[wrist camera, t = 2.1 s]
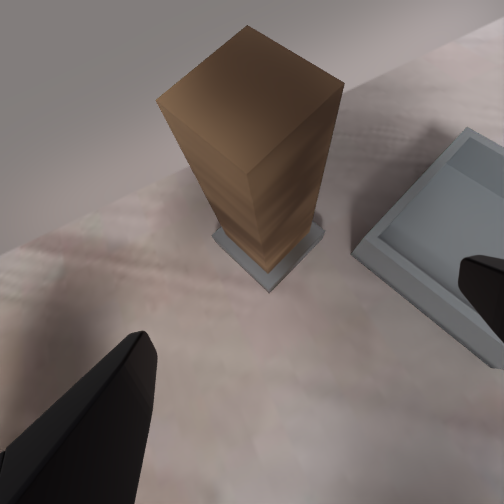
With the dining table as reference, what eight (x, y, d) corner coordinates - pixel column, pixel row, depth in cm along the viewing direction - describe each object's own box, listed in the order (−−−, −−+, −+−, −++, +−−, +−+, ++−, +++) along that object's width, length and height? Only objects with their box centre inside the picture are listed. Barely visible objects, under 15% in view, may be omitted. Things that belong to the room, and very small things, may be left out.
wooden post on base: (269, 293, 21) (246, 209, 8) (215, 242, 23) (123, 102, 10) (322, 238, 22) (381, 79, 9) (267, 193, 24) (247, 3, 11)
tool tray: (491, 368, 18) (539, 373, 15) (350, 254, 21) (363, 237, 18) (582, 247, 20) (644, 227, 16) (439, 158, 23) (466, 126, 20)
